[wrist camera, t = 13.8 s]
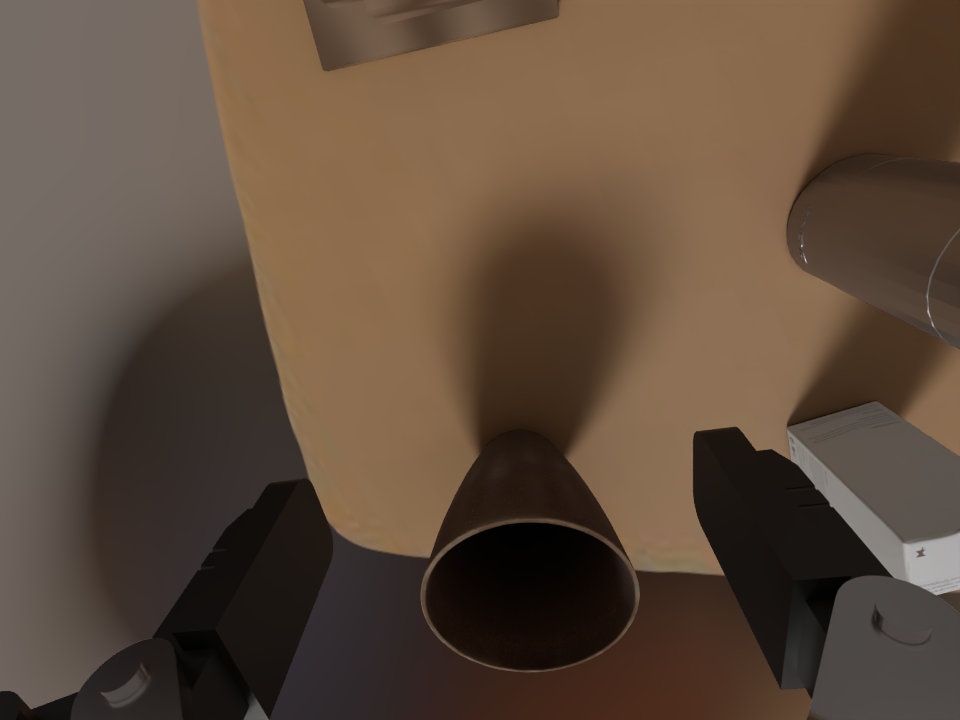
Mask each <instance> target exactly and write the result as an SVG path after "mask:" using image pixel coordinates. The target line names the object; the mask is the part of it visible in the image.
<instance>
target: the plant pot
mask: <svg viewBox="0 0 960 720" xmlns="http://www.w3.org/2000/svg"><path fill="white" fill-rule="evenodd" d="M639 595H640V592H639V585H638V579H637V576H636V573H635V571H634V568H633V566H632V564H631V562H630V560H629V558H628V556H627V554H626V552H625V550H624V548H623V546H622V544H621V542H620V540H619V538H618V536H617V534H616V533H615V531H614V529H613V527H612V525H611V523H610V521H609V520H608V518H607V516H606V514H605V513H604V511H603V509H602V508H601V506H600V504H599V503H598V501H597V500H596V498H595V497H594V495H593V494H592V492H591V491H590V489H589V488H588V486H587V485H586V483H585V482H584V480H583V479H582V478H581V476H580V475H579V474H578V472H577V471H576V470H575V469H574V467H573V466H572V465H571V464H570V463H569V462H568V460H567V459H566V458H565V457H564V456H563V455H562V454H561V453H560V452H559V451H558V450H557V449H556V448H555V447H554V446H553V445H552V444H551V443H550V442H549V441H548V440H547V439H545V438H544V437H542V436H541V435H538V434H536V433H533V432H529V431H512V432H507V433H504V434H502V435H500V436H498V437H496V438H495V439H493V440H492V441H491V442H490V443H489V444H488V445H487V447H486V448H485V449H484V450H483V451H482V453H481V454H480V455H479V457H478V458H477V459H476V461H475V462H474V464H473V465H472V467H471V468H470V470H469V471H468V473H467V475H466V476H465V478H464V480H463V482H462V483H461V485H460V487H459V489H458V491H457V493H456V495H455V497H454V499H453V501H452V503H451V505H450V507H449V509H448V511H447V514H446V516H445V518H444V521H443V523H442V525H441V528H440V531H439V533H438V536H437V539H436V542H435V545H434V547H433V550H432V553H431V556H430V559H429V562H428V565H427V568H426V571H425V575H424V578H423V581H422V585H421V605H422V610H423V612H424V616H425V618H426V620H427V622H428V624H429V626H430V627H431V629H432V630H433V631H434V633H435V634H436V635H437V637H438V638H439V639H440V640H441V641H442V642H443V643H445V644H446V645H447V646H448V647H450V648H451V649H452V650H453V651H455V652H457V653H458V654H460V655H462V656H464V657H466V658H467V659H469V660H472V661H474V662H477V663H479V664H482V665H485V666H489V667H492V668H496V669H501V670H507V671H516V672H543V671H552V670H558V669H563V668H566V667H570V666H574V665H577V664H580V663H582V662H585V661H587V660H589V659H591V658H593V657H596V656H597V655H599V654H601V653H602V652H604V651H605V650H607V649H608V648H610V647H611V646H612V645H614V644H615V643H616V642H617V641H618V640H619V639H620V638H621V637H622V636H623V635H624V634H625V632H626V631H627V629H628V628H629V626H630V625H631V623H632V621H633V619H634V617H635V615H636V612H637V608H638V604H639Z"/></svg>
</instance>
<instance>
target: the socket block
mask: <svg viewBox="0 0 960 720" xmlns="http://www.w3.org/2000/svg"><path fill="white" fill-rule="evenodd" d="M303 1H304V5H305V8H306V12H307V15H308V19H309V22H310V26H311V30H312V33H313V37H314V40H315V44H316V47H317V51H318V54H319V58H320V61H321V65H322V68H323V70H325V71H331V70H335V69H339V68H344V67H348V66H352V65H357V64H361V63H365V62H369V61H374V60H378V59H382V58H387V57H391V56H395V55H399V54H404V53H408V52H412V51H417V50H421V49H425V48H429V47H434V46H438V45H442V44H447V43H451V42H455V41H459V40H464V39H468V38H472V37H477V36H481V35H485V34H489V33H494V32H498V31H502V30H507V29H511V28H515V27H519V26H524V25H528V24H532V23H537V22H541V21H545V20H549V19H554V18H557V17H558V15H559V12H558V3H557V0H303Z"/></svg>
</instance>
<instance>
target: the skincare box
mask: <svg viewBox="0 0 960 720" xmlns="http://www.w3.org/2000/svg"><path fill="white" fill-rule="evenodd" d="M787 433H788V438H789V445H790V453H791V460H792V462H794V463H795V464H797V465H798V466H799V467H800V468H801V469H802V471H803V472H804V473H805V474H806V475H807V477H808V478H809V479H810V480H811V481H812V482H813V484H814V485H815V488H816V490H817V489H819V491H820V492H821V493H822V494H823V495H824V496H825V498H826V499H827V500H828V501H829V502H830V506H831V507H834V508H835V509H836V511H837V512H838V513H839V514H840V515H841V516H842V518H843V519H844V520H845V521H846V522H847V524H848V525H849V526H850V527H851V528H852V529H853V531H854V532H855V533H856V534H857V535H858V536H859V538H860V539H861V540H862V541H863V542H864V544H865V545H866V546H867V547H868V548H869V549H870V551H871V552H872V553H873V554H874V555H875V556H876V558H877V559H878V560H879V561H880V562H881V563H882V565H883V566H884V567H885V568H886V569H887V571H888V572H889V573H890V574H891V575H892V576H893V577H894V578H896V579H900V580H903V581H907V582H909V583H912V584H915V585H917V586H919V587H921V588H923V589H926V590H928V591H930V592H931V593H933V594H935V595H938V594H942V593H946V592H950V591H954V590H958V589H960V456H958V455H957V454H955V453H954V452H952V451H951V450H949V449H948V448H946V447H945V446H943V445H942V444H940V443H939V442H937V441H936V440H934V439H933V438H931V437H930V436H928V435H927V434H925V433H924V432H922V431H921V430H919V429H918V428H916V427H915V426H913V425H912V424H910V423H909V422H907V421H906V420H904V419H903V418H901V417H900V416H898V415H897V414H895V413H894V412H892V411H891V410H889V409H888V408H886V407H885V406H883V405H882V404H881V403H879V402H878V401H874V402H871V403H867V404H864V405H861V406H857V407H854V408H851V409H847V410H844V411H840V412H837V413H834V414H830V415H827V416H823V417H820V418H817V419H813V420H810V421H807V422H803V423H800V424H796V425H793V426H789V427H787Z"/></svg>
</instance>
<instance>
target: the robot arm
mask: <svg viewBox="0 0 960 720" xmlns="http://www.w3.org/2000/svg"><path fill="white" fill-rule="evenodd" d="M787 244H788V247H789V250H790V254H791V256H792V257H793V259H794V260H795V262H796V264H798V265H799V266H800V267H801V268H802V269H803V270H804V271H806V272H808V273H810V274H812V275H814V276H816V277H817V278H819V279H821V280H823V281H825V282H827V283H829V284H831V285H833V286H835V287H837V288H838V289H840V290H842V291H844V292H846V293H848V294H850V295H852V296H854V297H856V298H858V299H860V300H862V301H864V302H866V303H868V304H870V305H872V306H874V307H876V308H878V309H880V310H882V311H884V312H886V313H888V314H890V315H892V316H894V317H896V318H898V319H900V320H902V321H904V322H906V323H908V324H910V325H912V326H914V327H916V328H918V329H920V330H922V331H924V332H926V333H928V334H930V335H932V336H934V337H936V338H938V339H940V340H942V341H944V342H946V343H948V344H950V345H952V346H954V347H956V348H958V349H960V163H959V162H949V161H939V160H928V159H921V158H910V157H900V156H889V155H878V154H864V155H858V156H853V157H850V158H847V159H844V160H842V161H839V162H837V163H835V164H834V165H832V166H830V167H829V168H827V169H825V170H824V171H822V172H821V173H820V174H819V175H818V176H817V177H815V178H814V179H813V180H812V181H811V182H810V183H809V184H808V186H807V187H806V188H805V189H804V190H803V191H802V193H801V194H800V196H799V198H798V199H797V201H796V203H795V204H794V206H793V209H792V212H791V214H790V217H789V221H788V227H787ZM693 496H694V504H695V508H696V513H697V516H698V519H699V522H700V524H701V527H702V529H703V531H704V533H705V535H706V537H707V539H708V541H709V543H710V545H711V547H712V549H713V551H714V553H715V555H716V557H717V560H718V562H719V564H720V566H721V568H722V570H723V572H724V574H725V576H726V577H727V580H728V582H729V584H730V586H731V588H732V590H733V592H734V594H735V596H736V598H737V601H738V603H739V605H740V607H741V609H742V610H743V613H744V615H745V617H746V619H747V621H748V623H749V625H750V627H751V629H752V632H753V634H754V636H755V638H756V640H757V642H758V644H759V646H760V648H761V650H762V652H763V654H764V656H765V658H766V660H767V662H768V664H769V666H770V668H771V670H772V673H773V674H774V677H775V679H776V681H777V683H778V685H779V687H780V689H781V690H782V689H796V688H797V689H798V688H806V690H807V692H808V694H809V696H810V698H811V699H812V702H811V706H810V710H809V714H808V718H807V720H960V614H959V613H958V612H957V611H956V610H955V609H954V608H953V607H952V606H950V605H949V604H948V603H946V602H945V601H944V600H942V599H941V598H940V597H938V596H936V595H935V594H933V593H931V592H930V591H928V590H926V589H923V588H921V587H919V586H917V585H915V584H912V583H909V582H907V581H903V580H900V579H896V578H894V577H893V576H892V575H891V574H890V573H889V572H888V571H887V569H886V568H885V567H884V566H883V565H882V563H881V562H880V561H879V560H878V559H877V558H876V556H875V555H874V554H873V553H872V552H871V551H870V549H869V548H868V547H867V546H866V545H865V544H864V542H863V541H862V540H861V539H860V538H859V536H858V535H857V534H856V533H855V532H854V531H853V529H852V528H851V527H850V526H849V525H848V524H847V522H846V521H845V520H844V519H843V518H842V516H841V515H840V514H839V513H838V512H837V511H836V509H835V508H834V507H831V506H830V502H829V501H828V500H827V499H826V498H825V496H824V495H823V494H822V493H821V492H820V491H819V489H817V490H816V488H815V485H814V484H813V482H812V481H811V480H810V479H809V478H808V477H807V475H806V474H805V473H804V472H803V471H802V469H801V468H800V467H799V466H798V465H797V464H795V463H794V462H792V461H790V460H789V459H787V458H785V457H784V456H782V455H780V454H779V453H777V452H775V451H774V450H772V449H770V450H761V451H756V450H755V449H754V447H753V446H752V445H751V443H750V442H749V441H748V439H747V438H746V437H745V435H744V434H743V433H742V432H741V430H740V429H739V428H737V427H729V428H721V429H713V430H704V431H696V432H695V434H694V438H693ZM332 554H333V537H332V532H331V529H330V527H329V524H328V522H327V519H326V517H325V514H324V512H323V509H322V507H321V504H320V502H319V499H318V497H317V494H316V492H315V489H314V487H313V485H312V483H311V482H310V481H309V480H308V479H306V478H303V479H294V480H287V481H278V482H272V483H270V484H268V485H267V487H266V488H265V490H264V491H263V493H262V494H261V496H260V497H259V499H258V500H257V502H256V503H255V505H254V507H253V508H252V509H247V510H246V511H245V512H244V513H243V514H241V515H240V516H239V517H238V518H237V519H236V520H235V521H234V522H232V523H231V524H230V525H229V526H228V527H227V528H226V529H225V531H224V532H223V534H222V536H221V537H220V538H219V540H218V541H217V543H216V544H215V546H214V547H213V552H212V553H209V554H208V556H207V558H206V559H205V560H204V562H203V563H202V565H201V570H198V571H197V572H196V574H195V575H194V577H193V578H192V579H191V581H190V583H189V584H188V585H187V587H186V589H185V590H184V591H183V593H182V594H181V596H180V597H179V599H178V600H177V602H176V603H175V605H174V606H173V608H172V609H171V611H170V612H169V614H168V615H167V617H166V618H165V619H164V621H163V622H162V624H161V625H160V627H159V628H158V630H157V631H156V633H155V634H154V636H153V637H152V638H151V639H146V640H142V641H139V642H137V643H134V644H132V645H130V646H128V647H126V648H124V649H123V650H121V651H119V652H118V653H116V654H115V655H113V656H112V657H111V658H109V659H108V660H107V661H105V662H104V663H103V664H102V665H101V666H100V667H99V668H98V669H97V670H96V671H95V672H94V673H93V674H92V675H91V676H90V677H89V678H88V679H87V681H86V682H85V683H84V685H83V686H82V687H81V689H80V691H79V692H77V693H74V694H71V695H69V696H66V697H63V698H61V699H58V700H55V701H53V702H50V703H47V704H45V705H42V706H39V707H37V708H34V709H30V708H29V707H28V706H27V704H26V703H25V702H24V701H23V700H22V699H21V698H20V697H19V696H18V695H17V694H16V693H14V692H11V691H1V692H0V720H269V719H270V717H271V714H272V711H273V709H274V706H275V704H276V701H277V699H278V696H279V694H280V691H281V688H282V686H283V683H284V681H285V678H286V675H287V673H288V670H289V668H290V665H291V663H292V660H293V658H294V655H295V652H296V650H297V647H298V645H299V642H300V640H301V637H302V634H303V632H304V629H305V627H306V624H307V621H308V619H309V617H310V614H311V611H312V609H313V606H314V604H315V601H316V598H317V596H318V593H319V591H320V588H321V586H322V583H323V581H324V578H325V575H326V573H327V570H328V568H329V565H330V563H331V559H332Z"/></svg>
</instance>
